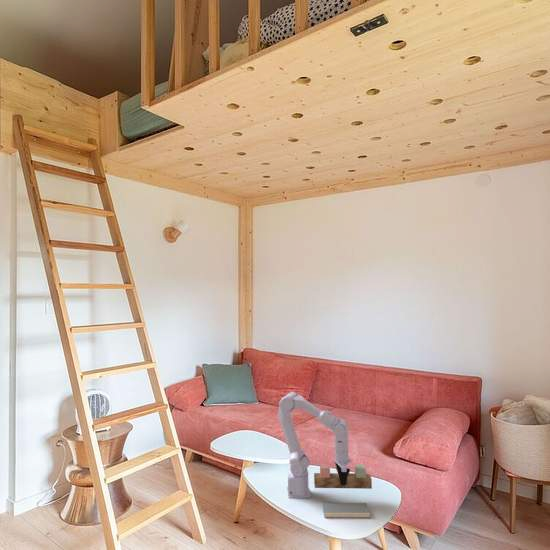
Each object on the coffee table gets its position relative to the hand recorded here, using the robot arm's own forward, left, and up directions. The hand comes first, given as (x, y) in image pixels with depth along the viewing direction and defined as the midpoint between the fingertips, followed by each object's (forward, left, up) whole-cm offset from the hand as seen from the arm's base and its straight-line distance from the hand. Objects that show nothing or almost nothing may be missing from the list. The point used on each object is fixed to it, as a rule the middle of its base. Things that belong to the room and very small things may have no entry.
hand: (342, 481), depth 172 cm
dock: (0, -9, -8) cm, 12 cm away
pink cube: (-7, 0, +2) cm, 8 cm away
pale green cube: (+8, 0, +2) cm, 8 cm away
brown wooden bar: (0, 0, -2) cm, 2 cm away
